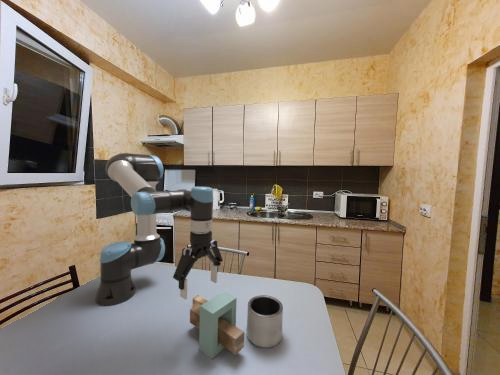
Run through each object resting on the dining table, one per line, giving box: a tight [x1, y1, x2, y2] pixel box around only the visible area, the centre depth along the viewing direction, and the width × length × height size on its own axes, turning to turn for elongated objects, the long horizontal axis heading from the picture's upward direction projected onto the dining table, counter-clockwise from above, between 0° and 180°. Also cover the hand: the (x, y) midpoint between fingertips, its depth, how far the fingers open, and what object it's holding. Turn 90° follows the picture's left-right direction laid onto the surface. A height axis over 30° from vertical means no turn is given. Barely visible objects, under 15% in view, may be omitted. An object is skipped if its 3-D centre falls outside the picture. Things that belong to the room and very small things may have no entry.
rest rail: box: [192, 295, 208, 308], centre depth 87 cm, size 12×3×4 cm, turn 53°
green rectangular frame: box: [198, 291, 237, 360], centre depth 71 cm, size 6×11×14 cm, turn 143°
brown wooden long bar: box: [189, 304, 245, 356], centre depth 72 cm, size 22×4×5 cm, turn 53°
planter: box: [246, 294, 284, 348], centre depth 75 cm, size 13×13×11 cm
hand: (199, 289), depth 76 cm, fingers open, 13 cm apart
